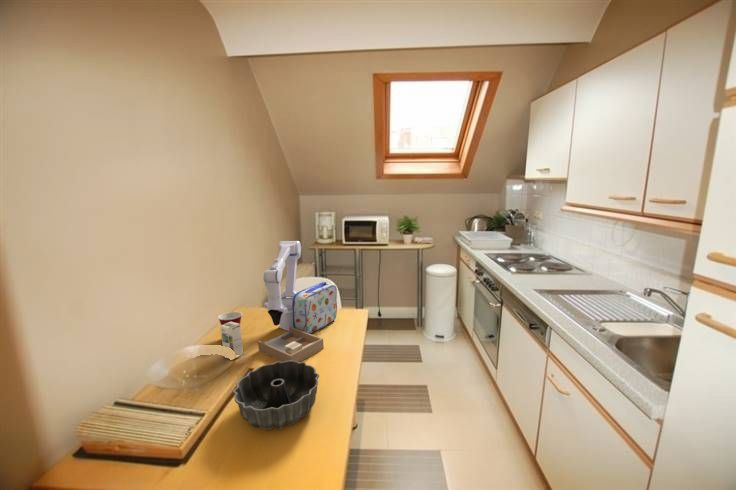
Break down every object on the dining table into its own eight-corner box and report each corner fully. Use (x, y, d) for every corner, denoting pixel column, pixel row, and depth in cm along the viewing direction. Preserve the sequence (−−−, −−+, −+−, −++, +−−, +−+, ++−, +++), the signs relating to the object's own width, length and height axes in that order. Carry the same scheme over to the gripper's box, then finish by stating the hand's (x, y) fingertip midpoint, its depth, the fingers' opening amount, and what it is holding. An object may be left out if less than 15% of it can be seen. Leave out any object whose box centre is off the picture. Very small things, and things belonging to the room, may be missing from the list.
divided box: (258, 350, 147) (257, 341, 146) (291, 335, 161) (290, 326, 160) (291, 366, 133) (290, 356, 132) (323, 348, 147) (323, 338, 146)
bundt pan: (218, 436, 97) (215, 406, 96) (259, 383, 123) (257, 358, 121) (306, 444, 94) (303, 412, 92) (329, 387, 119) (327, 361, 117)
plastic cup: (248, 333, 164) (245, 310, 162) (239, 343, 154) (236, 319, 152) (226, 333, 165) (223, 310, 162) (216, 343, 154) (213, 319, 152)
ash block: (285, 352, 140) (284, 345, 139) (294, 347, 143) (294, 341, 143) (293, 356, 136) (292, 349, 136) (302, 350, 140) (302, 344, 140)
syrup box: (223, 358, 141) (219, 326, 139) (234, 351, 147) (231, 320, 144) (232, 361, 139) (229, 328, 136) (243, 354, 144) (240, 322, 141)
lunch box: (325, 314, 185) (323, 276, 180) (341, 318, 179) (339, 278, 175) (291, 334, 161) (287, 291, 157) (307, 339, 156) (304, 294, 152)
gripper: (256, 295, 149) (259, 323, 152) (277, 301, 141) (279, 331, 143) (270, 291, 155) (272, 318, 157) (290, 297, 146) (292, 326, 149)
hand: (276, 324), depth 151 cm, fingers closed
